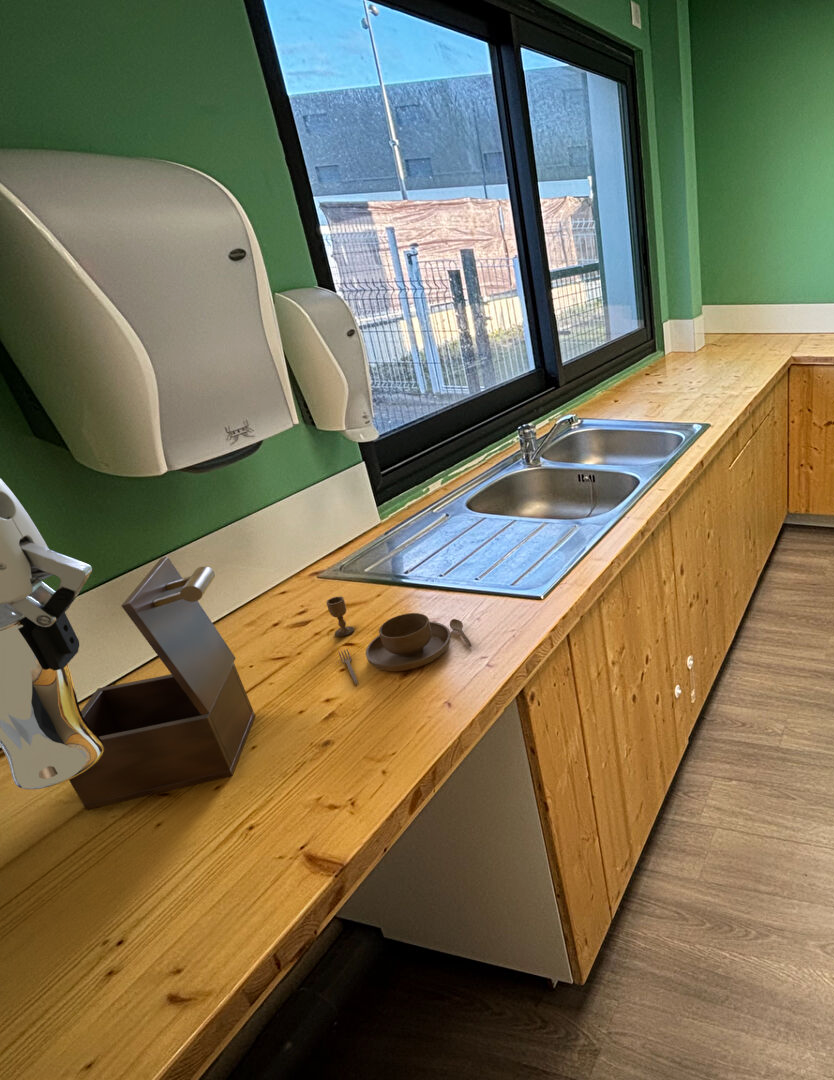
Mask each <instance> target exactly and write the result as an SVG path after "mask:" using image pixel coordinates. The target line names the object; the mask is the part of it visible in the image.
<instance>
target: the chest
mask: <svg viewBox="0 0 834 1080" xmlns="http://www.w3.org/2000/svg"><path fill="white" fill-rule="evenodd" d="M80 711H81V713H82V716H83V718H84V719H85V721H86V723H87V724H88V725H89V727H90V728H91V729H92V730H93V731H94V732H95V733H96V734H97V736H98V737H99V738H100V739H101V740H102V741H103V743H104V745H105V751H104V753H103V755H102V756H101V758H100V759H99V760H98V761H97V762H96V763H95V764H94V765H93V766H91V767H90V768H89V769H87V770H86V771H84V772H83V773H81V774H79V775H78V776H76V777H74V778H72V779H70V780H68V781H69V783H70V785H71V786H72V788H73V790H74V792H75V793H76V795H77V797H78V798H79V800H80V802H81V804H82V805H83V807H84V809H85V810H86V811H87V810H91V809H95V808H100V807H104V806H109V805H113V804H117V803H121V802H126V801H130V800H133V799H138V798H142V797H147V796H152V795H155V794H160V793H164V792H168V791H173V790H177V789H182V788H187V787H190V786H194V785H199V784H203V783H207V782H211V781H216V780H219V779H224V778H229V777H233V775H234V773H235V771H236V767H237V766H238V763H239V760H240V758H241V755H242V752H243V750H244V747H245V745H246V742H247V739H248V737H249V734H250V732H251V729H252V727H253V725H254V721H255V719H256V714H255V711H254V708H253V707H252V704H251V702H250V699H249V696H248V694H247V692H246V689H245V687H244V684H243V681H242V679H241V677H240V673H239V672H238V670H237V667H236V665H235V662H234V663H233V665H232V667H231V669H230V671H229V673H228V675H227V677H226V679H225V681H224V683H223V685H222V688H221V690H220V692H219V694H218V696H217V698H216V700H215V702H214V704H213V706H212V708H211V710H210V712H209V713H208V714H205V715H201V713H200V712H199V711H198V709H197V708H196V707H195V705H194V704H193V703H192V701H191V700H190V699H189V697H188V696H187V694H186V693H185V692H184V690H183V689H182V688H181V686H180V685H179V684H178V682H177V681H176V680H175V678H174V677H173V675H172V674H171V673H170V674H165V675H160V676H155V677H150V678H144V679H140V680H135V681H130V682H124V683H119V684H118V683H117V684H114V685H113V684H112V685H108V686H103V687H98V688H97V689H96V690H95V692H94V693H93V694H92V695H91V697H90V698H89V700H88V701H87V702H86V703H85V705H84V706H83V707H82V708H81V709H80Z"/></svg>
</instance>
